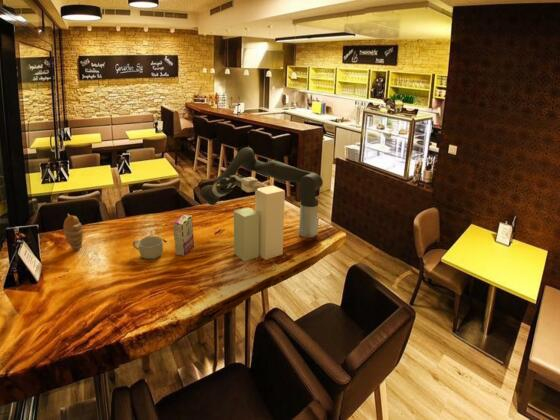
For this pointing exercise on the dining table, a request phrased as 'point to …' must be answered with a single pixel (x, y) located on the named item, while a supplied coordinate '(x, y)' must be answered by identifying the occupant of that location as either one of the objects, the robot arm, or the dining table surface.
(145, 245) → the teacup
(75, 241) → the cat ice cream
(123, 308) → the dining table surface
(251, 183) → the handle
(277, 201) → the tall stand
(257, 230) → the grey green tall block
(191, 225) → the candy bar box
